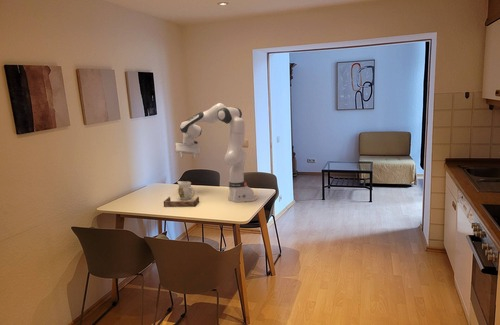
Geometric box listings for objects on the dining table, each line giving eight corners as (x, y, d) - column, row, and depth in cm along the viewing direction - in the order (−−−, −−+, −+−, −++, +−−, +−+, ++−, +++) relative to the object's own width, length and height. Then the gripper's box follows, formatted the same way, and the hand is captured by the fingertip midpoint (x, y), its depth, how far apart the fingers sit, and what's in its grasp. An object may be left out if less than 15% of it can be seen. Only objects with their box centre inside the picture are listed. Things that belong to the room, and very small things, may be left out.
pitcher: (190, 202, 295) (189, 185, 292) (173, 199, 305) (172, 182, 302) (199, 198, 303) (198, 182, 301) (183, 196, 314) (182, 179, 311)
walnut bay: (199, 201, 296) (199, 196, 295) (195, 206, 283) (194, 201, 282) (169, 201, 299) (168, 196, 298) (163, 206, 286) (163, 201, 285)
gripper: (175, 139, 310) (175, 154, 304) (200, 142, 316) (200, 157, 309) (174, 143, 315) (174, 158, 309) (199, 146, 321) (199, 160, 315)
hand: (187, 157), depth 309 cm, fingers open, 8 cm apart
